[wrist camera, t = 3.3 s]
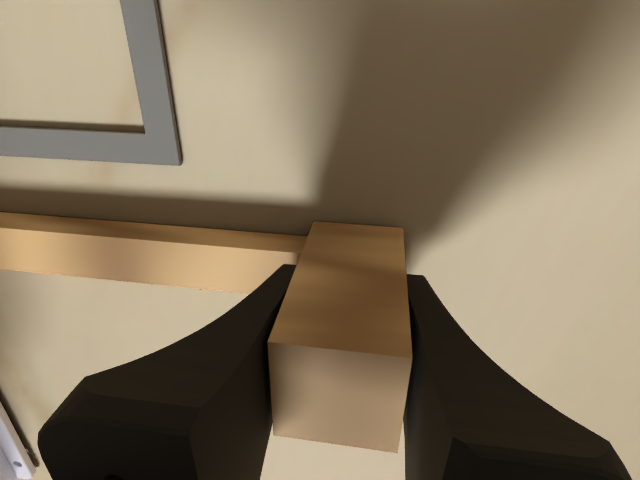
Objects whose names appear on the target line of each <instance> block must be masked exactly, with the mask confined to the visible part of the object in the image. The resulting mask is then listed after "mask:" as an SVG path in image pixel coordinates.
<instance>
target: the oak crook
mask: <svg viewBox="0 0 640 480" xmlns="http://www.w3.org/2000/svg"><path fill="white" fill-rule="evenodd" d="M283 264H292V265H297V266H296V268H295V271H294V274H293V276H292V279H291V281H290V284H289V287H288V289H287V292H286V295H285V297H284V300H283V302H282V305H281V308H280V310H279V313H278V316H277V318H276V321H275V323H274V326H273V329H272V331H271V334H270V336H269V339H268V358H269V373H270V389H271V404H272V419H273V435H275V436H282V437H289V438H296V439H303V440H310V441H317V442H324V443H331V444H338V445H345V446H352V447H359V448H366V449H373V450H380V451H387V452H394V453H398V446H399V440H400V434H401V428H402V421H403V415H404V409H405V403H406V396H407V390H408V384H409V377H410V371H411V365H412V359H413V357H412V344H411V330H410V316H409V303H408V289H407V275H406V261H405V248H404V234H403V228H398V227H385V226H371V225H358V224H344V223H331V222H317V221H313V224H312V226H311V229H310V232H309V234H308V236H296V235H284V234H271V233H259V232H246V231H234V230H221V229H208V228H196V227H183V226H171V225H158V224H145V223H133V222H120V221H108V220H95V219H82V218H70V217H57V216H45V215H32V214H19V213H7V212H0V269H5V270H15V271H25V272H35V273H45V274H55V275H65V276H75V277H85V278H96V279H106V280H116V281H126V282H136V283H146V284H156V285H166V286H176V287H186V288H196V289H206V290H217V291H227V292H237V293H247V294H250V293H252V292H253V291H254V290H255V289H256V288H257V287H259V286H260V285H261V284H262V283H263V282H264V281H265V280H266V279H267V278H268V277H270V276H271V275H272V274H273V273H274V272H275V271H276V270H277V269H278V268H279V267H280V266H282V265H283Z"/></svg>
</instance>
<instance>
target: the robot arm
mask: <svg viewBox="0 0 640 480" xmlns="http://www.w3.org/2000/svg"><path fill="white" fill-rule="evenodd" d="M296 266H297V265H292V264H283V265H282V266H280V267H279V268H278V269H277V270H276V271H275V272H274V273H273V274H272V275H271V276H270V277H268V278H267V279H266V280H265V281H264V282H263V283H262V284H261V285H260V286H259V287H257V288H256V289H255V290H254V291H253V292H252V293H250V294H249V295H248V296H247V297H246V298H245V299H243V300H242V301H241V302H239V303H238V304H237V305H236V306H234V307H233V308H232V309H230V310H229V311H228V312H226V313H225V314H224V315H222V316H221V317H219V318H218V319H216V320H215V321H213V322H211V323H210V324H208V325H206V326H205V327H203V328H202V329H200V330H198V331H196V332H194V333H193V334H191V335H189V336H187V337H185V338H183V339H181V340H179V341H177V342H175V343H173V344H171V345H169V346H167V347H165V348H163V349H160V350H158V351H156V352H154V353H151V354H149V355H146V356H144V357H142V358H139V359H137V360H134V361H131V362H129V363H126V364H123V365H120V366H117V367H114V368H111V369H108V370H105V371H102V372H99V373H96V374H93V375H90V376H86V377H84V379H83V380H82V381H81V382H80V383H79V384H78V385H77V386H76V387H75V388H74V390H73V391H72V392H71V393H70V394H69V395H68V397H67V398H66V399H65V400H64V401H63V403H62V404H61V405H60V406H59V407H58V408H57V410H56V411H55V412H54V413H53V414H52V416H51V417H50V418H49V419H48V420H47V421H46V423H45V424H44V425H43V427H42V428H41V430H40V431H39V433H38V442H37V443H38V448H39V451H40V454H41V457H42V459H43V461H44V463H45V465H46V467H47V469H48V471H49V473H50V475H51V477H52V479H53V480H260V476H261V471H262V467H263V462H264V458H265V453H266V449H267V444H268V440H269V436H270V431H271V427H272V423H273V419H272V404H271V389H270V373H269V358H268V339H269V336H270V334H271V331H272V329H273V326H274V323H275V321H276V318H277V316H278V313H279V310H280V308H281V305H282V302H283V300H284V297H285V295H286V292H287V289H288V287H289V284H290V281H291V279H292V276H293V274H294V271H295V268H296ZM406 275H407V289H408V303H409V316H410V330H411V344H412V357H413V359H412V365H411V371H410V377H409V384H408V390H407V396H406V403H405V409H404V415H403V422H404V435H405V479H406V480H632V479H631V477H630V475H629V473H628V471H627V469H626V468H625V466H624V464H623V462H622V461H621V459H620V458H619V456H618V455H617V453H616V452H615V450H614V448H613V447H612V445H611V444H610V442H609V441H607V440H606V439H604V438H602V437H601V436H599V435H597V434H595V433H594V432H592V431H590V430H589V429H587V428H585V427H584V426H582V425H580V424H579V423H577V422H575V421H574V420H572V419H570V418H569V417H567V416H565V415H564V414H562V413H561V412H559V411H558V410H556V409H555V408H553V407H552V406H550V405H549V404H547V403H546V402H544V401H543V400H542V399H540V398H539V397H537V396H536V395H535V394H533V393H532V392H530V391H529V390H528V389H526V388H525V387H524V386H522V385H521V384H520V383H519V382H517V381H516V380H515V379H514V378H512V377H511V376H510V375H509V374H508V373H506V372H505V371H504V370H503V369H502V368H500V367H499V366H498V365H497V364H496V363H495V362H494V361H493V360H491V359H490V358H489V357H488V356H487V355H486V354H485V353H484V352H483V351H482V350H481V349H480V348H479V347H478V346H477V345H476V344H475V343H474V342H473V341H472V340H471V339H470V337H469V336H468V335H467V334H466V333H465V332H464V331H463V329H462V328H461V327H460V326H459V325H458V323H457V322H456V321H455V320H454V318H453V317H452V316H451V314H450V313H449V312H448V310H447V309H446V308H445V306H444V305H443V304H442V302H441V301H440V299H439V298H438V296H437V295H436V294H435V292H434V291H433V289H432V287H431V286H430V284H429V283H428V281H427V279H426V278H425V277H424V276H423V275H411V274H406ZM35 473H36V469H35V467H34V465H33V463H32V461H31V459H30V457H29V456H28V454H27V452H26V450H25V448H24V446H23V444H22V442H21V440H20V438H19V436H18V434H17V433H16V431H15V429H14V427H13V425H12V423H11V421H10V419H9V417H8V415H7V413H6V411H5V410H4V408H3V406H2V404H1V402H0V480H16V479H17V478H21V479H31V478H32V477H33V476H34V475H35Z"/></svg>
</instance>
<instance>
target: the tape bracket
mask: <svg viewBox="0 0 640 480" xmlns="http://www.w3.org/2000/svg"><path fill="white" fill-rule="evenodd" d="M120 4H121V9H122V14H123V19H124V25H125V30H126V35H127V40H128V46H129V51H130V56H131V61H132V66H133V72H134V77H135V82H136V87H137V92H138V98H139V103H140V108H141V113H142V119H143V124H144V129H145V133H143V132H122V131H100V130H79V129H58V128H37V127H16V126H0V156H15V157H33V158H51V159H68V160H86V161H103V162H121V163H138V164H156V165H174V166H180V165H182V159H181V153H180V146H179V140H178V133H177V127H176V120H175V114H174V107H173V101H172V95H171V88H170V82H169V75H168V69H167V62H166V56H165V49H164V43H163V36H162V30H161V23H160V17H159V10H158V4H157V0H120Z"/></svg>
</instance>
